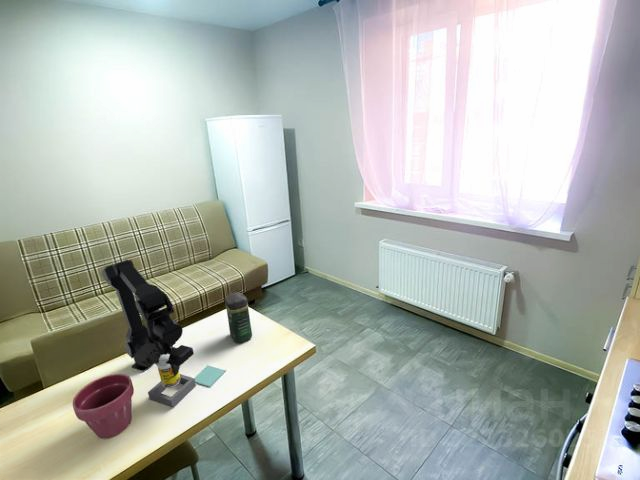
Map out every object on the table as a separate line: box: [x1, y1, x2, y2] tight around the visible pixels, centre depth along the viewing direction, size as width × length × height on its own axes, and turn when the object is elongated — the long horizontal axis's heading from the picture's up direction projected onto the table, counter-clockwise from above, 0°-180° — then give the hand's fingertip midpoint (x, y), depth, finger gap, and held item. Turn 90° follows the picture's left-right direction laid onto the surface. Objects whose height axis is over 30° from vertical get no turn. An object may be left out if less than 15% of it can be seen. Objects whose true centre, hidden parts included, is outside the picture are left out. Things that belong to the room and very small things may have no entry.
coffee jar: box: [224, 291, 253, 344], centre depth 133 cm, size 10×8×19 cm
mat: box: [193, 364, 227, 388], centre depth 115 cm, size 8×8×1 cm
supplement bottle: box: [156, 354, 181, 389], centre depth 106 cm, size 6×6×10 cm
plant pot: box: [72, 373, 135, 440], centre depth 96 cm, size 14×14×13 cm
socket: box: [147, 373, 197, 409], centre depth 108 cm, size 10×10×3 cm
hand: (169, 372), depth 106 cm, fingers closed on supplement bottle, 5 cm apart
